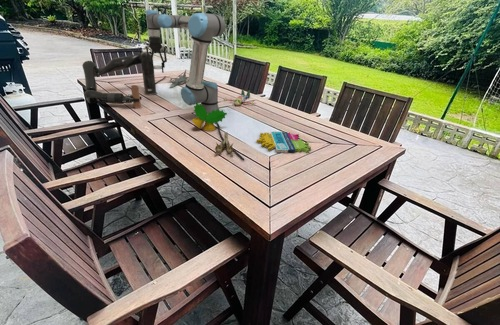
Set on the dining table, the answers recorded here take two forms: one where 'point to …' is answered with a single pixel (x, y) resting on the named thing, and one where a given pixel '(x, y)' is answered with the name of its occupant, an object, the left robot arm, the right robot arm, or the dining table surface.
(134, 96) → the jar
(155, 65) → the lid
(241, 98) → the toy
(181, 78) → the airplane
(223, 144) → the jawbone
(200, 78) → the right robot arm
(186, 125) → the dining table surface
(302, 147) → the sign
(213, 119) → the ornament
